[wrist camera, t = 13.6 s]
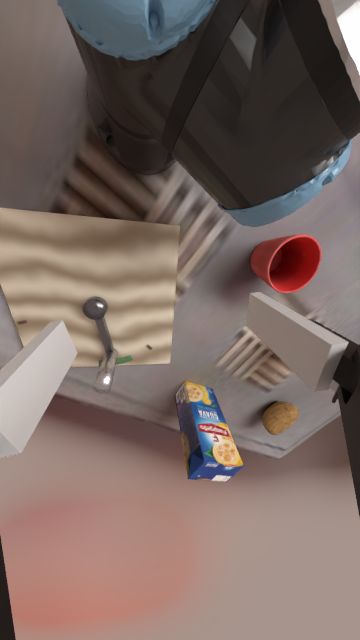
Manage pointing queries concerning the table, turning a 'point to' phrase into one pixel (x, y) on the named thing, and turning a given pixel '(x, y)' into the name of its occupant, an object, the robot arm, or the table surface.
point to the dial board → (91, 281)
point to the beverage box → (205, 435)
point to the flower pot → (287, 262)
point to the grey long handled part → (96, 311)
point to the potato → (279, 417)
